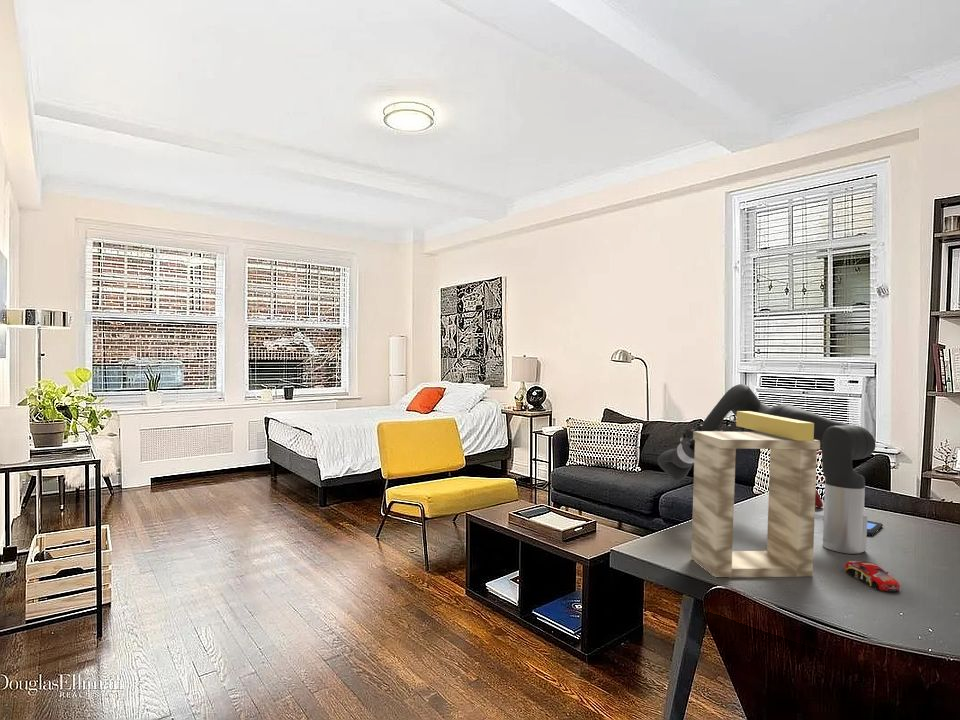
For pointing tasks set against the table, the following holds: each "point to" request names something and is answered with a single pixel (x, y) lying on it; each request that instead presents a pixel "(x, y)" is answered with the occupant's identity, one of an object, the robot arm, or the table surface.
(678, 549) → the table surface
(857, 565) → the race car
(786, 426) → the beam
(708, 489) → the shelf
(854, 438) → the robot arm
